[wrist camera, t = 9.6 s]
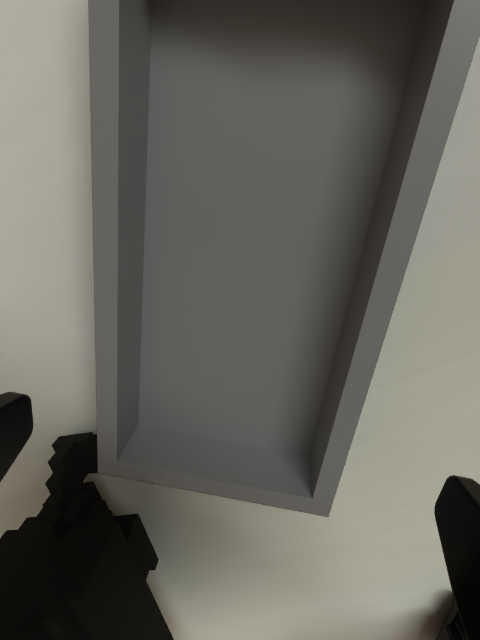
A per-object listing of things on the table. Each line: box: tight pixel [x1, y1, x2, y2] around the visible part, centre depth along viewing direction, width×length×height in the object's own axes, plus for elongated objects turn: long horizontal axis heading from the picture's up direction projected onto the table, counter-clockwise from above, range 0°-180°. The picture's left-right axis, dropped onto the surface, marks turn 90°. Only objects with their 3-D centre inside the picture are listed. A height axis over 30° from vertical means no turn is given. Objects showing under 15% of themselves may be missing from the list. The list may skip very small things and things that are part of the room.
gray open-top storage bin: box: [88, 0, 480, 517], centre depth 16 cm, size 12×23×4 cm, turn 172°
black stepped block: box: [0, 432, 174, 640], centre depth 22 cm, size 7×18×10 cm, turn 14°
